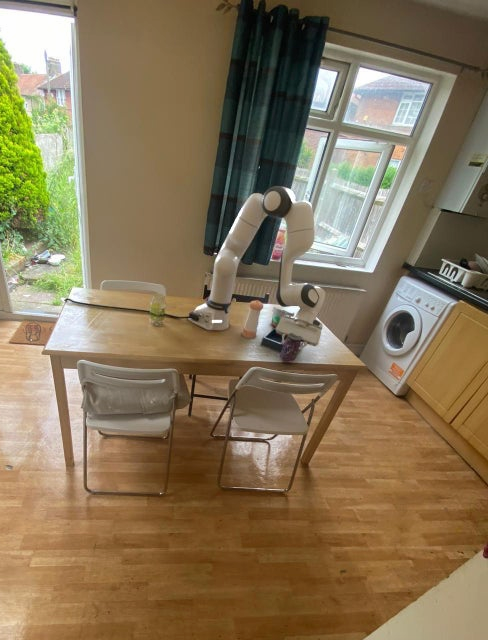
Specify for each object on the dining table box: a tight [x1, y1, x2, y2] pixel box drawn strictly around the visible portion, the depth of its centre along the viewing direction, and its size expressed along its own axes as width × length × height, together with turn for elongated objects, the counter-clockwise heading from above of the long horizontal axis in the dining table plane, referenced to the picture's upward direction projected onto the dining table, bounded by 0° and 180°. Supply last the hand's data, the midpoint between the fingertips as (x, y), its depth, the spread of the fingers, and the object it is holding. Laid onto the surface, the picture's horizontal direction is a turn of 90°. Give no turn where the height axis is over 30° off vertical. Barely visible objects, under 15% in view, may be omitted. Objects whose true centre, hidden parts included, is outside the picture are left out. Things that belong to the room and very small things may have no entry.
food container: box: [270, 306, 295, 329], centre depth 184 cm, size 12×6×10 cm, turn 62°
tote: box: [260, 327, 304, 353], centre depth 170 cm, size 18×15×4 cm
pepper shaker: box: [241, 299, 264, 339], centre depth 170 cm, size 7×7×19 cm
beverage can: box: [279, 333, 302, 363], centre depth 154 cm, size 7×7×12 cm
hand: (290, 347), depth 153 cm, fingers closed on beverage can, 7 cm apart
